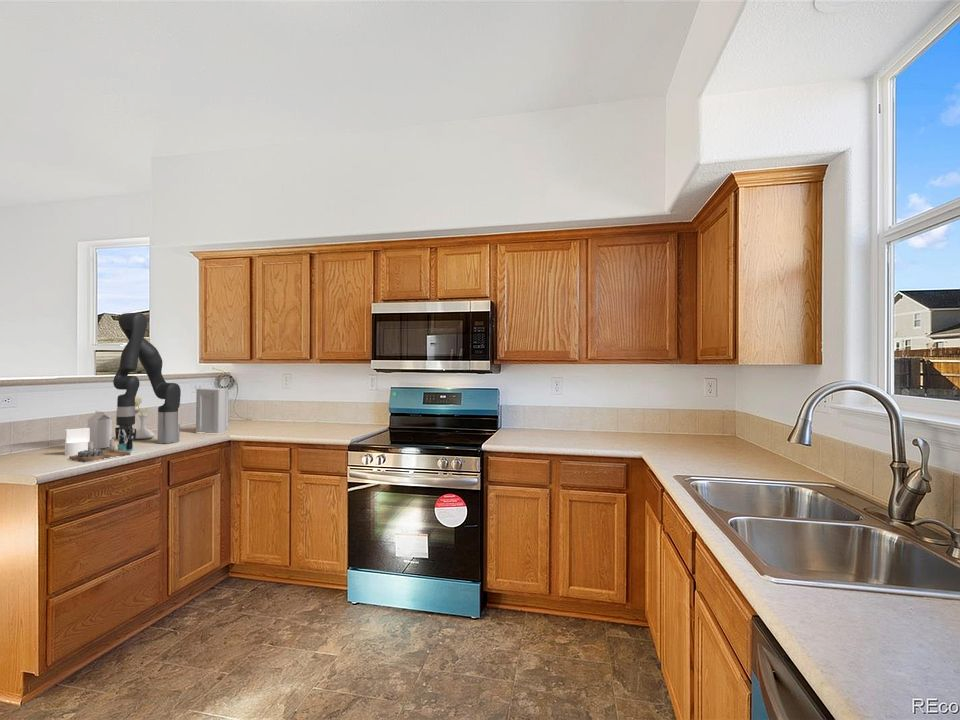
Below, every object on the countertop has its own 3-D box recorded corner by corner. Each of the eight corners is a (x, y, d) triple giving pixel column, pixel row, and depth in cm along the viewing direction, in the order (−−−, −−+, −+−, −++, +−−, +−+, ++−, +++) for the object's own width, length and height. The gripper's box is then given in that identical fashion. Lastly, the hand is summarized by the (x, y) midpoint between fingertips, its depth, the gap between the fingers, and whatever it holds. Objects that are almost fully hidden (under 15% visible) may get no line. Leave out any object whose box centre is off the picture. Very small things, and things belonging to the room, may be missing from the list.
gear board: (114, 452, 221) (114, 436, 221) (130, 454, 216) (130, 438, 216) (69, 459, 205) (69, 442, 205) (85, 462, 199) (85, 444, 199)
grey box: (238, 431, 293) (238, 388, 293) (218, 434, 279) (219, 389, 279) (215, 430, 299) (216, 387, 299) (195, 433, 284) (195, 389, 285)
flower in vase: (149, 436, 270) (149, 395, 271) (158, 438, 265) (159, 395, 265) (123, 439, 259) (124, 396, 259) (133, 441, 253) (133, 397, 254)
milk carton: (95, 450, 227) (96, 412, 227) (86, 449, 230) (87, 412, 230) (111, 447, 234) (112, 411, 234) (102, 446, 236) (103, 410, 237)
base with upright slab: (87, 451, 225) (87, 427, 225) (91, 453, 219) (91, 428, 219) (63, 453, 218) (63, 429, 218) (66, 456, 212) (66, 430, 212)
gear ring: (128, 449, 230) (128, 442, 230) (135, 450, 227) (135, 443, 227) (115, 451, 224) (115, 444, 224) (122, 452, 222) (122, 445, 222)
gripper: (142, 415, 227) (142, 448, 226) (125, 413, 232) (125, 446, 232) (126, 416, 220) (125, 451, 219) (109, 415, 226) (108, 448, 225)
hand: (125, 448), depth 226 cm, fingers closed on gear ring, 6 cm apart
